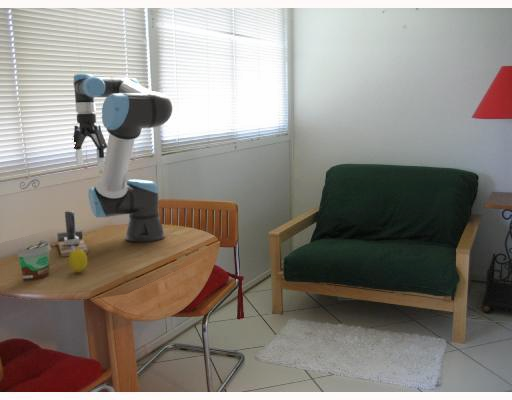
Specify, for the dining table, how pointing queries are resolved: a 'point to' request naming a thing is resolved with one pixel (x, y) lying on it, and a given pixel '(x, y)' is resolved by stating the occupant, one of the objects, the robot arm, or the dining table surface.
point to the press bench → (69, 248)
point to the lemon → (78, 260)
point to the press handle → (70, 229)
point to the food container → (35, 261)
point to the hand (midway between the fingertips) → (90, 165)
